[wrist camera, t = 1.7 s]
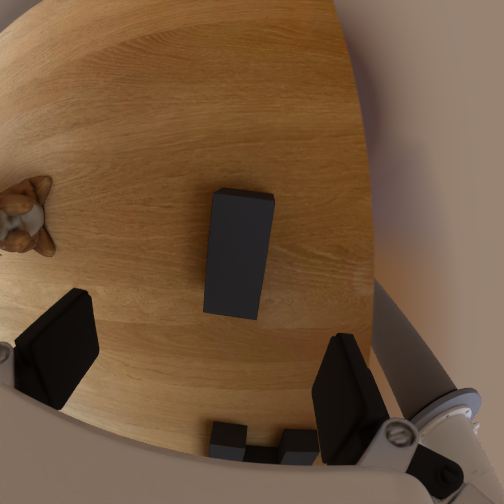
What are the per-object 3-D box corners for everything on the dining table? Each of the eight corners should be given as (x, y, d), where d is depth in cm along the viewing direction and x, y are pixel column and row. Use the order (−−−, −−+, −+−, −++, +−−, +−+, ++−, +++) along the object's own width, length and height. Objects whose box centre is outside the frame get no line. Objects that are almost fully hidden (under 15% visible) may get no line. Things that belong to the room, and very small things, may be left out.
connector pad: (273, 194, 27) (275, 201, 23) (257, 298, 30) (256, 320, 26) (221, 187, 27) (213, 192, 23) (211, 291, 30) (202, 312, 26)
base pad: (316, 429, 37) (319, 452, 33) (295, 468, 42) (296, 486, 38) (213, 421, 38) (209, 443, 33) (211, 461, 42) (207, 479, 38)
